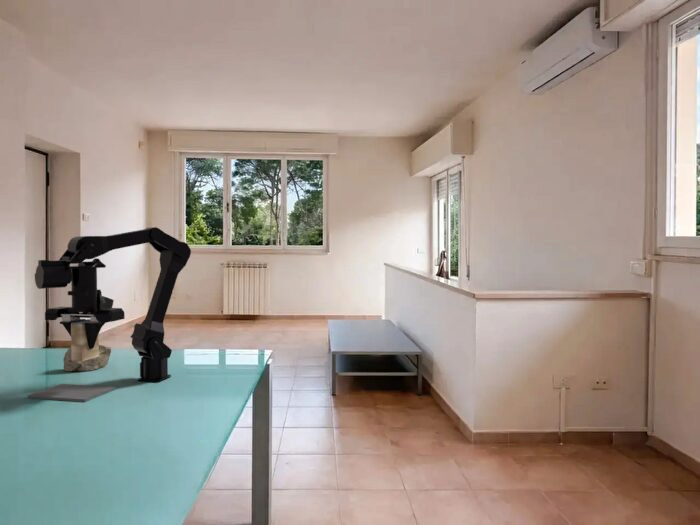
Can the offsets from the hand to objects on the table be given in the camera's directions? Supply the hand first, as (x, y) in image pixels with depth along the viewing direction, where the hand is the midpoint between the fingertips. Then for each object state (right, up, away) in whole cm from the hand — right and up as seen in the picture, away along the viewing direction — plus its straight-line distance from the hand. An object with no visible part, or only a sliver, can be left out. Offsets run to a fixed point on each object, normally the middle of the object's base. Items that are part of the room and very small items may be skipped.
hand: (85, 348), depth 129 cm
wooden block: (0, -3, 0) cm, 2 cm away
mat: (-3, -11, 0) cm, 12 cm away
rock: (-12, -11, +26) cm, 30 cm away
